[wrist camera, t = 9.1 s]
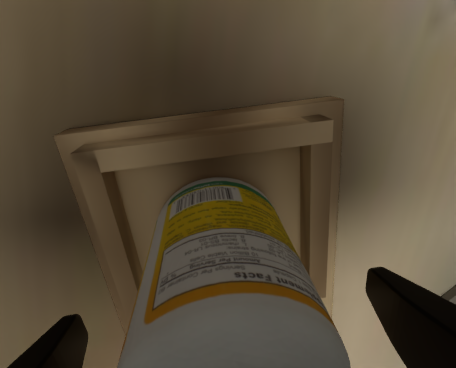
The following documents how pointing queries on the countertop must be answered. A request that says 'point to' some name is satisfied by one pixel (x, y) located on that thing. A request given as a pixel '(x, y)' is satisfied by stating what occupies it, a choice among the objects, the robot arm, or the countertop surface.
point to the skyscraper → (451, 295)
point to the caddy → (207, 168)
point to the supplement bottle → (227, 289)
